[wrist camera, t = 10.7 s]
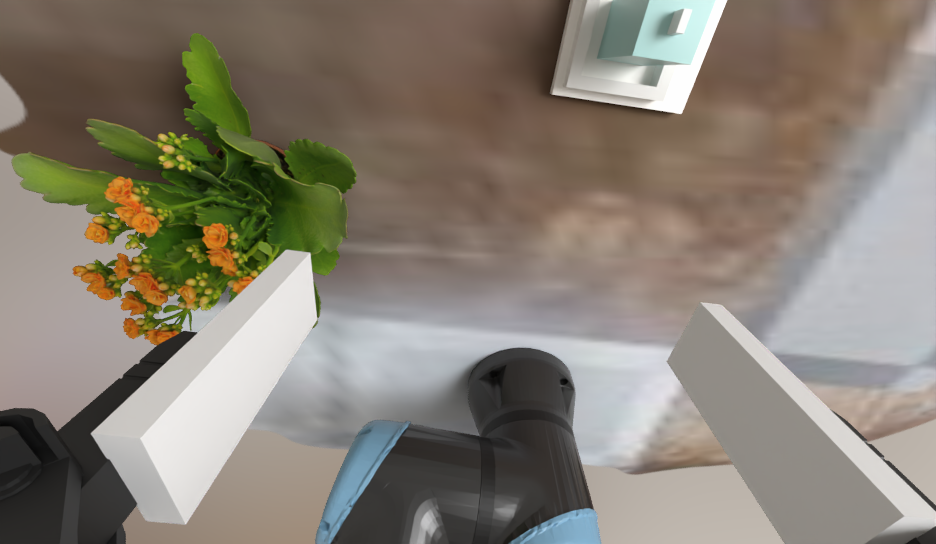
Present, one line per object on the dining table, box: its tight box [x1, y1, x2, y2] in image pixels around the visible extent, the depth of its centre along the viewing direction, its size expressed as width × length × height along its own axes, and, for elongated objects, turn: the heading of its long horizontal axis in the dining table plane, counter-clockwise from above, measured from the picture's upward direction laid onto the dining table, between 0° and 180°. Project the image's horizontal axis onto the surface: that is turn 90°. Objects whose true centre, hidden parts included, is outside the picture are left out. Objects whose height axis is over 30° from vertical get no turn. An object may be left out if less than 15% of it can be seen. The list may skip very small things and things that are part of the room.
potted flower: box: [12, 33, 357, 345], centre depth 30 cm, size 25×24×18 cm
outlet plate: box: [550, 0, 727, 114], centre depth 28 cm, size 14×12×3 cm
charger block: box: [597, 0, 716, 66], centre depth 25 cm, size 4×4×9 cm
